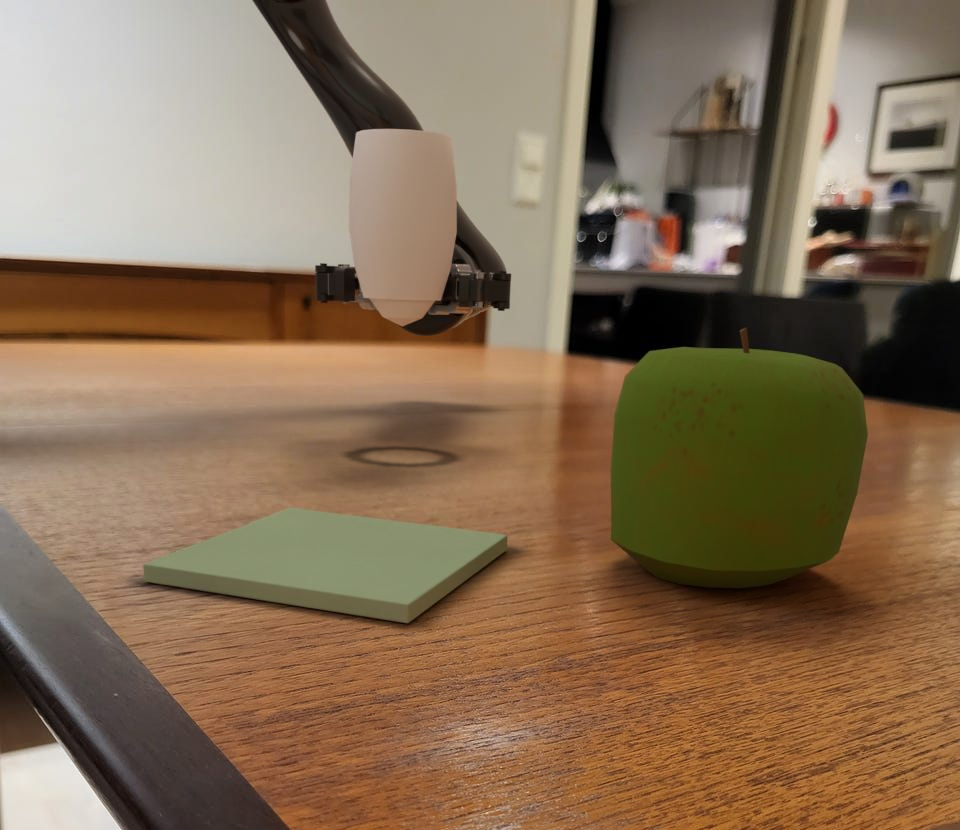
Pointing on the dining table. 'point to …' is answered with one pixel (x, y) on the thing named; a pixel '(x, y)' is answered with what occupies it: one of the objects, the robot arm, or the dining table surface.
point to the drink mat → (333, 563)
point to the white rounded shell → (402, 219)
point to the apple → (734, 464)
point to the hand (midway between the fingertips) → (401, 287)
